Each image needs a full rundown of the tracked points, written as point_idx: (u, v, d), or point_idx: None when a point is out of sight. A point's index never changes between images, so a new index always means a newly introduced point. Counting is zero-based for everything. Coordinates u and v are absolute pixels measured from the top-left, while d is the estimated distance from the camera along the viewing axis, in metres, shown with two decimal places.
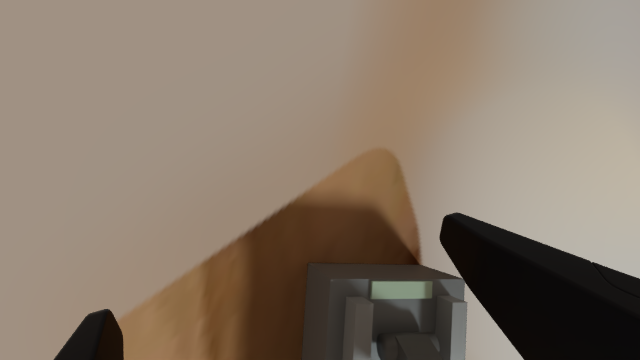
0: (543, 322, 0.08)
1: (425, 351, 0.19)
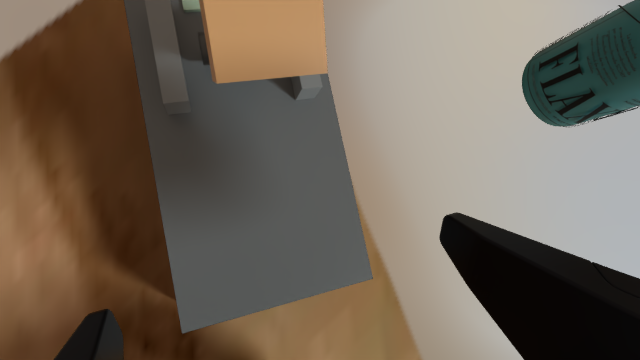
0: (543, 322, 0.08)
1: None
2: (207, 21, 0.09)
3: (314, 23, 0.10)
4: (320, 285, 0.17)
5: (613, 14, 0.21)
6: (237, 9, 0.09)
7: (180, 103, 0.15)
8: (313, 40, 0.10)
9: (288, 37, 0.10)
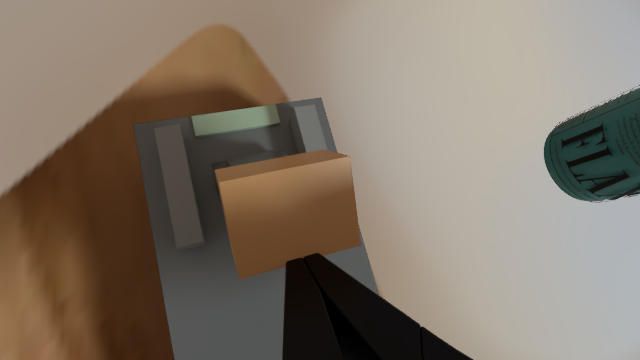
0: None
1: (258, 155, 0.14)
2: (227, 218, 0.08)
3: (344, 198, 0.09)
4: None
5: (637, 95, 0.20)
6: (259, 200, 0.08)
7: (194, 243, 0.14)
8: (343, 215, 0.09)
9: (316, 217, 0.09)
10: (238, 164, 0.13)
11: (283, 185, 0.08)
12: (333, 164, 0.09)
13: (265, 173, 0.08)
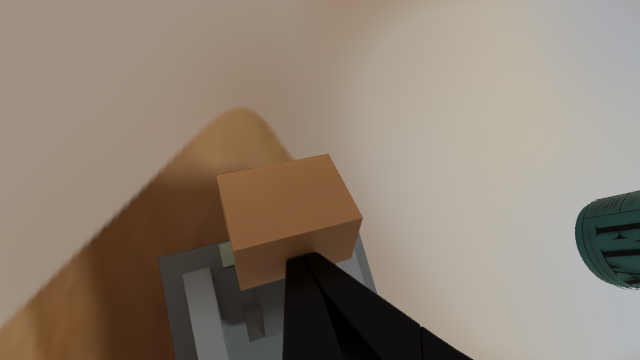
0: None
1: None
2: (222, 199, 0.09)
3: (331, 180, 0.10)
4: None
5: None
6: (251, 185, 0.09)
7: None
8: (335, 193, 0.09)
9: (307, 196, 0.09)
10: None
11: (271, 174, 0.10)
12: (315, 160, 0.10)
13: (255, 168, 0.10)
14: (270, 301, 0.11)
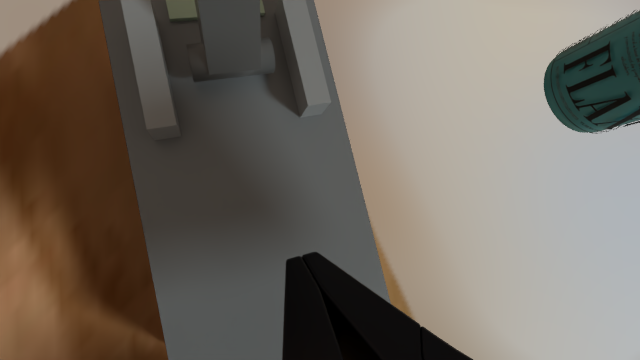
0: None
1: None
2: None
3: None
4: None
5: None
6: None
7: (166, 127, 0.13)
8: None
9: None
10: None
11: None
12: None
13: None
14: None
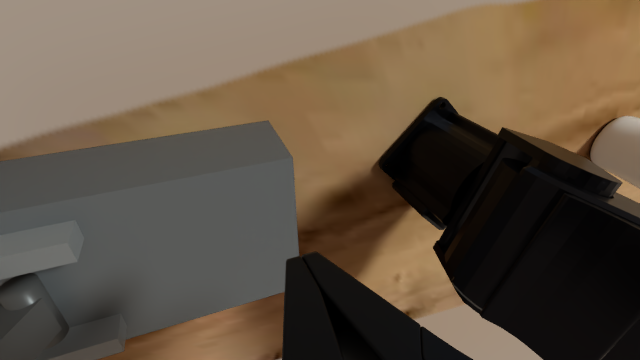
0: None
1: None
2: None
3: None
4: (288, 204, 0.18)
5: None
6: None
7: (120, 340, 0.17)
8: None
9: None
10: None
11: None
12: None
13: None
14: None
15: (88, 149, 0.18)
